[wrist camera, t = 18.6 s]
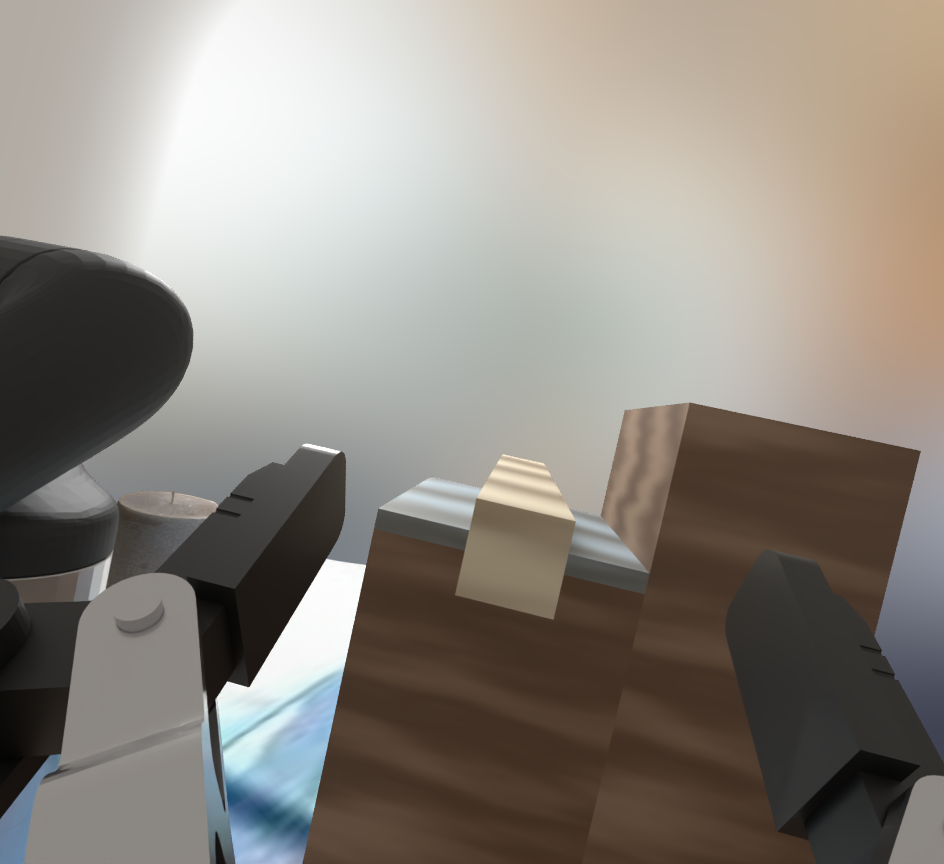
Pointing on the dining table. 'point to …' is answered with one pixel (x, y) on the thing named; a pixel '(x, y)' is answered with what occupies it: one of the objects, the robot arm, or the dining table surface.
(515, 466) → the maple rod
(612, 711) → the block
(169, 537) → the pillar candle
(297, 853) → the dining table surface
